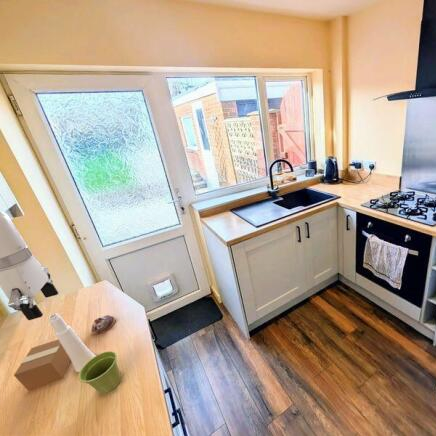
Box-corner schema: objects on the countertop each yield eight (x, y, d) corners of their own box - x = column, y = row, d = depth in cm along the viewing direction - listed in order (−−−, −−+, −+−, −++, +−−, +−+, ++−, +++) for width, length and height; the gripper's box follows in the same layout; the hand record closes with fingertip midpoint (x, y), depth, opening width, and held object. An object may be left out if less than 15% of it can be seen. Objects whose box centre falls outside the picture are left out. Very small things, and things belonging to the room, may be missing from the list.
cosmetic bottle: (79, 375, 80) (43, 327, 70) (71, 367, 83) (36, 319, 73) (99, 359, 84) (68, 312, 75) (92, 352, 87) (61, 306, 78)
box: (27, 391, 76) (12, 374, 73) (43, 363, 85) (31, 347, 82) (63, 378, 79) (50, 362, 76) (75, 352, 88) (64, 337, 84)
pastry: (92, 338, 93) (86, 328, 91) (91, 326, 98) (86, 317, 96) (117, 326, 97) (111, 316, 95) (114, 315, 103) (109, 306, 101)
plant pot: (84, 396, 73) (70, 378, 69) (111, 366, 81) (100, 348, 78) (108, 403, 71) (95, 384, 67) (134, 371, 79) (123, 353, 75)
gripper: (13, 246, 71) (43, 292, 79) (-32, 281, 57) (10, 333, 64) (44, 239, 74) (71, 284, 81) (9, 271, 59) (45, 322, 66)
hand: (44, 306), depth 72 cm, fingers open, 9 cm apart
